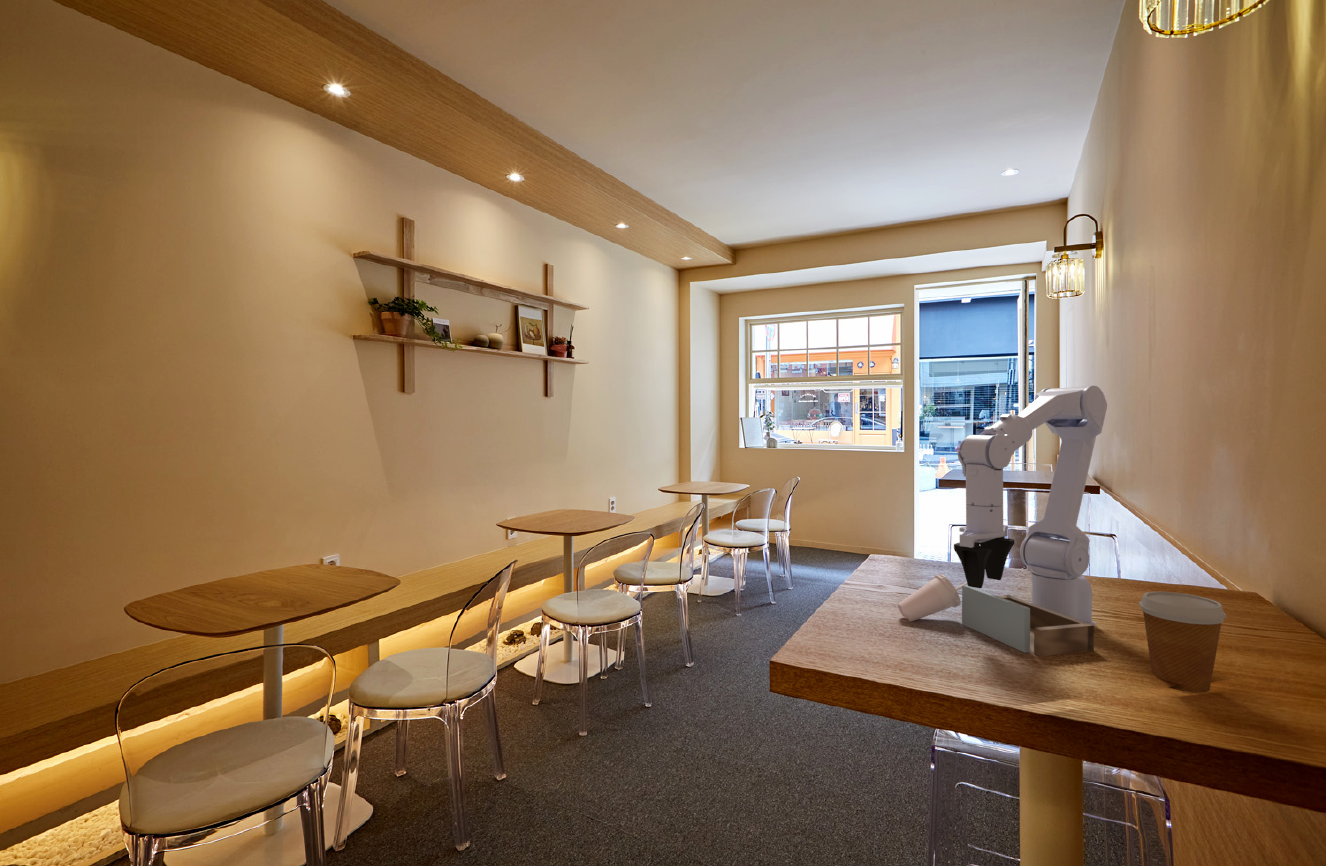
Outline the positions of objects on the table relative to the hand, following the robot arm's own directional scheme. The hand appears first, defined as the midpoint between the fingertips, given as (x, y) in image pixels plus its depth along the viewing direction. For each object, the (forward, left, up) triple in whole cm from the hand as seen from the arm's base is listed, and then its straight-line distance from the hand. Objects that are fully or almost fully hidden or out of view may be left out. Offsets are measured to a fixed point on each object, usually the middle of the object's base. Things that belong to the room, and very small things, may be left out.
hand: (984, 582), depth 108 cm
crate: (-5, +3, -10) cm, 11 cm away
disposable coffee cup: (-13, +23, -10) cm, 28 cm away
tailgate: (0, +3, -9) cm, 9 cm away
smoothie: (+10, -9, -7) cm, 15 cm away
